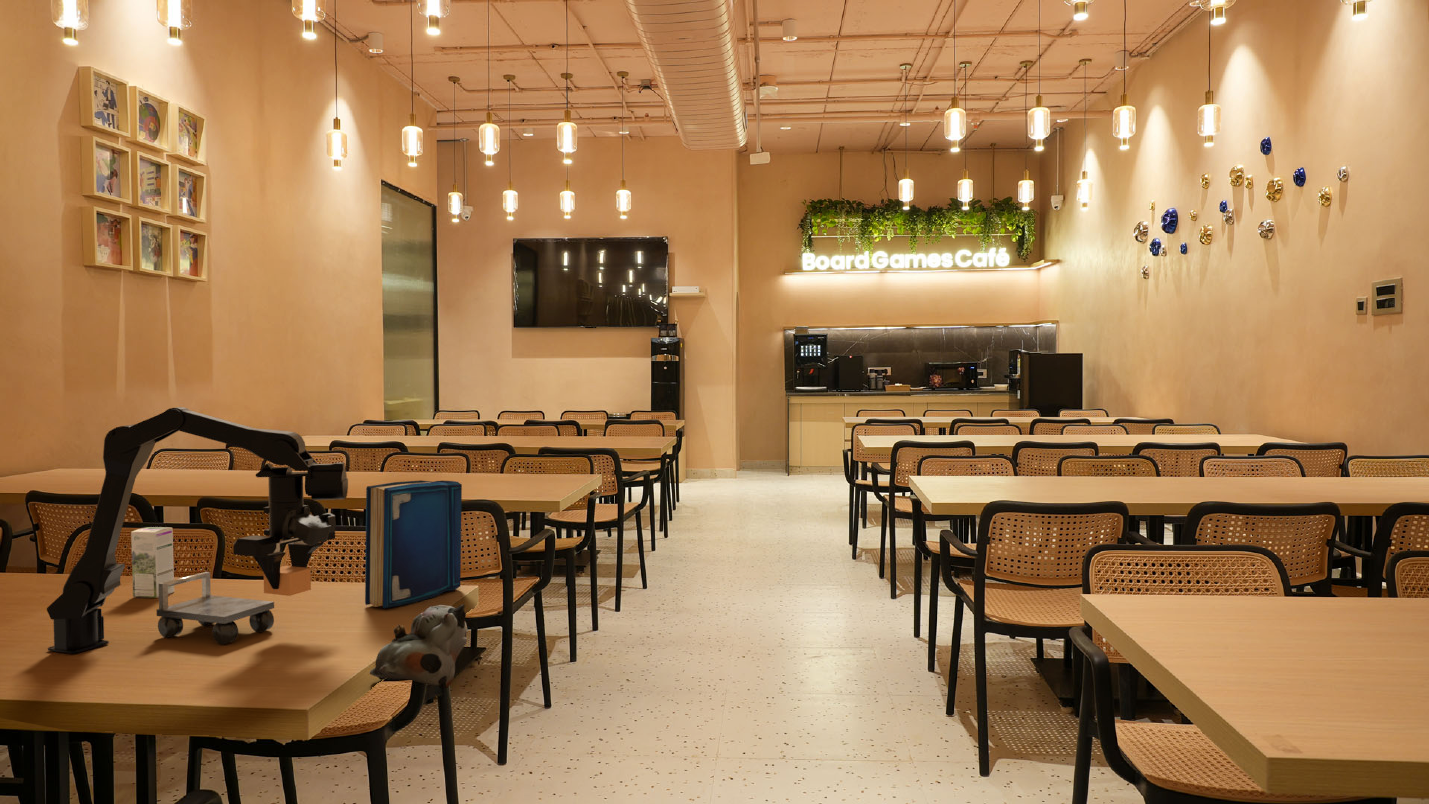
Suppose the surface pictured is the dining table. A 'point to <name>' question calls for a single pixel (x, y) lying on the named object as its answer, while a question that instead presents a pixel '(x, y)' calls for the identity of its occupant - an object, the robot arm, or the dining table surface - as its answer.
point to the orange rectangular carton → (290, 581)
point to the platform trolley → (211, 611)
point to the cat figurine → (425, 648)
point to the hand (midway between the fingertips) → (287, 585)
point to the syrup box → (151, 560)
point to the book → (412, 541)
